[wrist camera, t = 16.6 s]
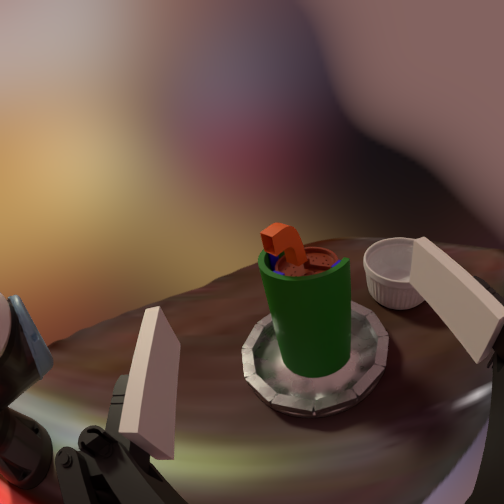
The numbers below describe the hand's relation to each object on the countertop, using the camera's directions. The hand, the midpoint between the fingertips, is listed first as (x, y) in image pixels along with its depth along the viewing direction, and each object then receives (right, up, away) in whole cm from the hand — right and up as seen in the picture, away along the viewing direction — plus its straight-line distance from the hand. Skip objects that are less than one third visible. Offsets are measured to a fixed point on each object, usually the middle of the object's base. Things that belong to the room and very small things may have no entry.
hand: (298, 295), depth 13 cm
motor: (+6, -12, +23) cm, 27 cm away
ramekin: (+24, -5, +31) cm, 39 cm away
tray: (+7, -13, +24) cm, 28 cm away
